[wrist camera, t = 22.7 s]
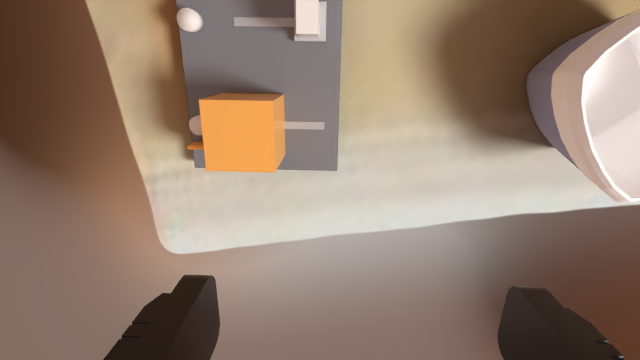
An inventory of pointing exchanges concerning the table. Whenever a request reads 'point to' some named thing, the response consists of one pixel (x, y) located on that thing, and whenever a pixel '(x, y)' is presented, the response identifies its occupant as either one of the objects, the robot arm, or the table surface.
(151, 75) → the table surface
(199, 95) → the breaker panel
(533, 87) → the bowl
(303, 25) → the untagged breaker
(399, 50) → the table surface
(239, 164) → the orange block
